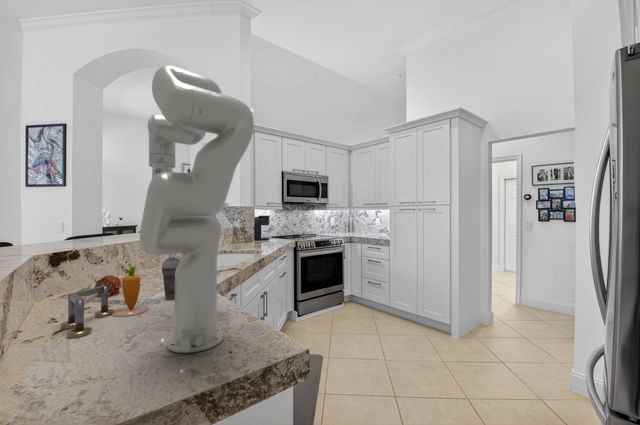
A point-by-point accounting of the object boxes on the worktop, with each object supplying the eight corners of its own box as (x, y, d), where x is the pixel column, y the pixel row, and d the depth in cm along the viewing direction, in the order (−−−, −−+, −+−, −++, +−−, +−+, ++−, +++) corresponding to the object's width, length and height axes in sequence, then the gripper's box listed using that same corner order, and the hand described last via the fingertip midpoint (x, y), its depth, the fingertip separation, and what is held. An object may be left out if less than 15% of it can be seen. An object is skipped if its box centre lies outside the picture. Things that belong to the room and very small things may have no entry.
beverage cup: (173, 301, 105) (173, 246, 106) (156, 300, 107) (156, 246, 107) (186, 296, 113) (186, 244, 113) (170, 295, 114) (170, 244, 114)
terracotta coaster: (144, 314, 91) (144, 312, 91) (106, 318, 88) (106, 316, 88) (152, 305, 101) (152, 304, 101) (118, 308, 98) (118, 306, 98)
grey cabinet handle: (86, 336, 74) (86, 301, 75) (38, 342, 71) (38, 305, 72) (116, 311, 94) (116, 283, 95) (79, 315, 91) (80, 286, 92)
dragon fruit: (105, 302, 110) (105, 300, 120) (127, 286, 115) (125, 285, 125) (89, 286, 108) (90, 285, 118) (111, 270, 113) (111, 270, 122)
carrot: (138, 311, 93) (138, 264, 93) (120, 313, 91) (120, 265, 91) (141, 306, 97) (141, 262, 98) (124, 308, 96) (124, 263, 96)
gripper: (170, 156, 86) (171, 213, 85) (179, 167, 102) (179, 215, 102) (141, 155, 84) (142, 214, 83) (155, 166, 100) (155, 215, 99)
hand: (162, 214), depth 92 cm, fingers open, 9 cm apart
